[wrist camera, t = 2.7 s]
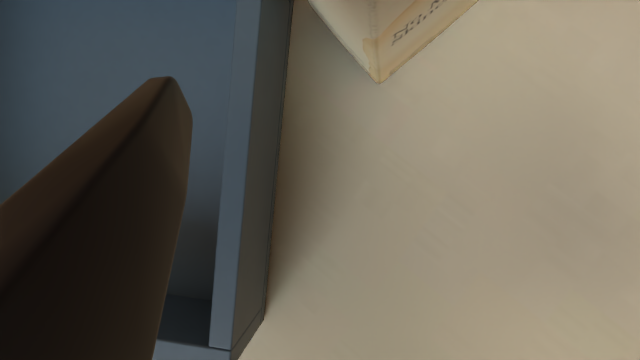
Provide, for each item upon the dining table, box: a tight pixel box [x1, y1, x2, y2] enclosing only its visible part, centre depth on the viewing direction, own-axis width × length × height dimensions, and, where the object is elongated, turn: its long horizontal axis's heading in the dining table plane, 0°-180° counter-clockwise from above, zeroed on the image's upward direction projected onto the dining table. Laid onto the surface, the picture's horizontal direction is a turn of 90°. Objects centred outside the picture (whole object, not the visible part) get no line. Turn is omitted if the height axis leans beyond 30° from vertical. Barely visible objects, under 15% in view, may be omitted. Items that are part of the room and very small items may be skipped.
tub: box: [0, 0, 293, 360], centre depth 18 cm, size 14×14×5 cm
